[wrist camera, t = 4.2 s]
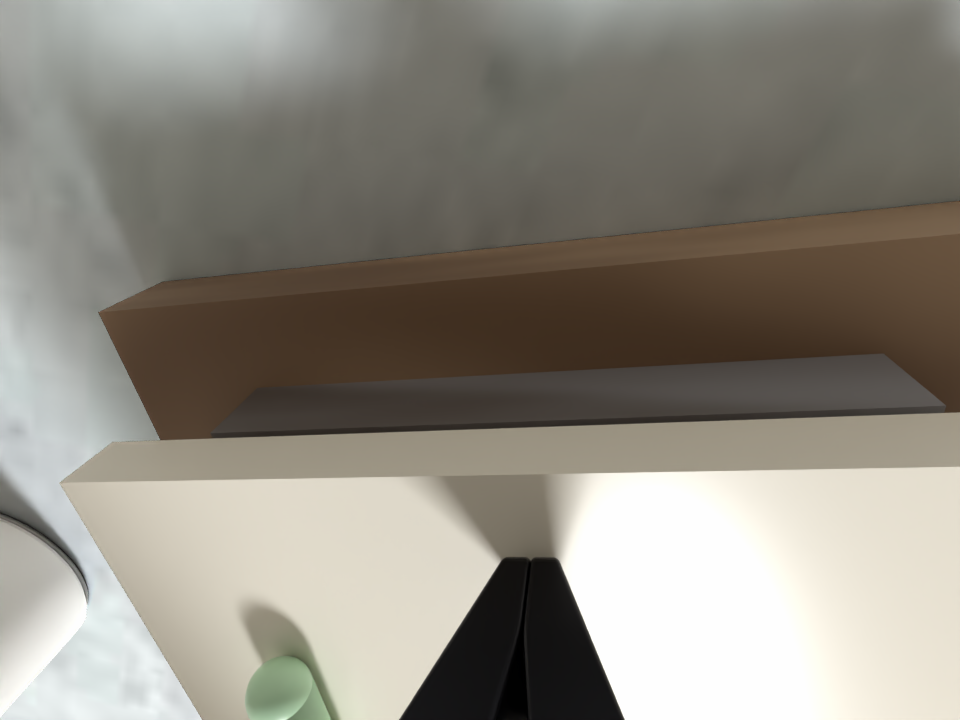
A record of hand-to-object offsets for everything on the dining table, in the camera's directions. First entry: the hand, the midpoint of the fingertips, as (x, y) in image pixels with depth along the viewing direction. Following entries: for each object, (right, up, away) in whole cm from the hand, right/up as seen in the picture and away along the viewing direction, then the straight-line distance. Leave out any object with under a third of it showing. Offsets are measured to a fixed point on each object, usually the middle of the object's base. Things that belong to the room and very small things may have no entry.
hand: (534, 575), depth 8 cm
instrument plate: (+1, -5, +4) cm, 6 cm away
